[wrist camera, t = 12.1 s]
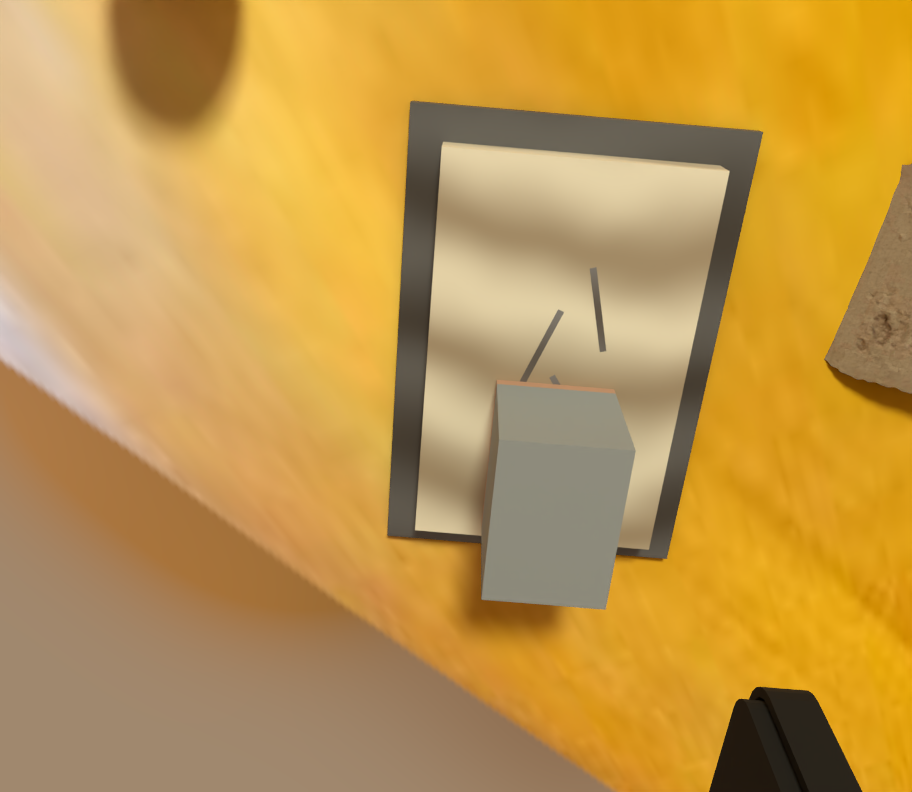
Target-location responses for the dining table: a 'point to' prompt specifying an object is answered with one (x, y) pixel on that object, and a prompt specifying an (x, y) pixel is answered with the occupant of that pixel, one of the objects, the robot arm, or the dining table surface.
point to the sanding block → (554, 494)
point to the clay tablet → (882, 304)
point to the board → (558, 294)
